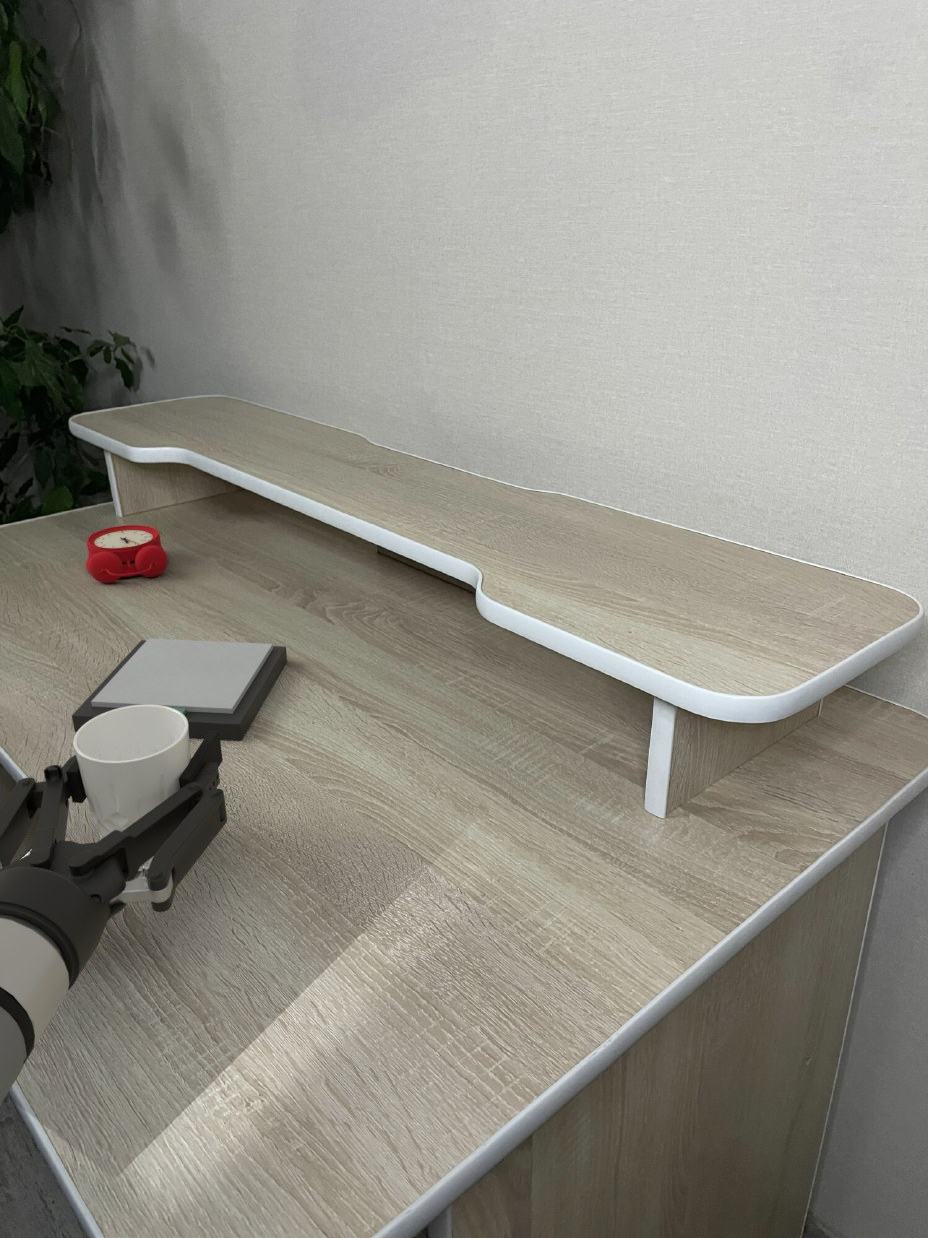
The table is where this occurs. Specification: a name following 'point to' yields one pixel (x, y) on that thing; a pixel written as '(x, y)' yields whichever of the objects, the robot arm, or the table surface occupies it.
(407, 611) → the table surface
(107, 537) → the alarm clock
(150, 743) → the white cup
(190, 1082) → the table surface
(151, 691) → the scale
